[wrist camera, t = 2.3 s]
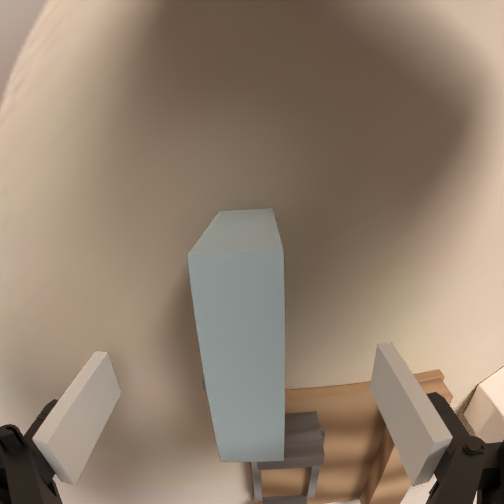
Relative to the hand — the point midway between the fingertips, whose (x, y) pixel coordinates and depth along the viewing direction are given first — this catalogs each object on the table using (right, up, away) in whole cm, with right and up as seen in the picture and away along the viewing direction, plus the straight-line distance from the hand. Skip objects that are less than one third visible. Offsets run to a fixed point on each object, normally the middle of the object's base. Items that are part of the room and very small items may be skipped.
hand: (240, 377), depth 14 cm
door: (0, +3, +9) cm, 9 cm away
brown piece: (+9, -15, +14) cm, 22 cm away
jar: (+28, -10, +12) cm, 32 cm away
